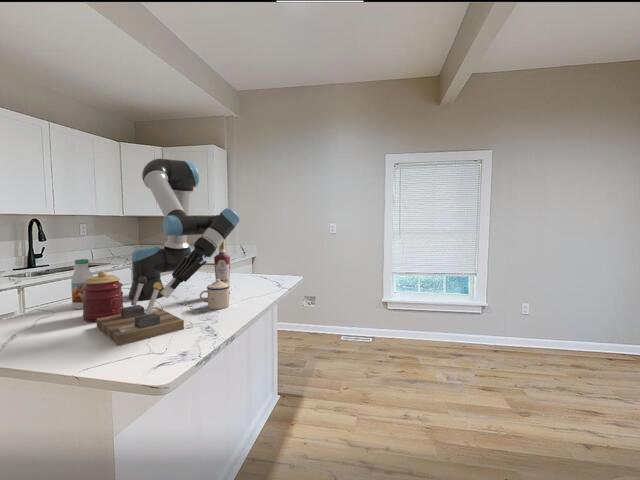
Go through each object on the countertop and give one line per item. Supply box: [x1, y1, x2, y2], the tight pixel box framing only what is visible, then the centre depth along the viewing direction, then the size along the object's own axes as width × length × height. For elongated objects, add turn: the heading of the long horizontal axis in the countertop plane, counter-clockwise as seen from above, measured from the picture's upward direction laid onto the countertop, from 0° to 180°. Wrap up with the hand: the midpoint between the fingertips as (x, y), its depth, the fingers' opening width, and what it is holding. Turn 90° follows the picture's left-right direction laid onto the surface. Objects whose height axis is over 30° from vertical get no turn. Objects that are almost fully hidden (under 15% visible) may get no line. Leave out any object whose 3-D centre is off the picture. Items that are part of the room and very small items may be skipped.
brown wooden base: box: [96, 304, 185, 347], centre depth 113 cm, size 23×20×6 cm
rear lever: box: [130, 276, 147, 306], centre depth 119 cm, size 3×3×11 cm
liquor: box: [213, 239, 231, 295], centre depth 156 cm, size 7×7×28 cm
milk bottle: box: [70, 258, 93, 310], centre depth 137 cm, size 8×8×20 cm
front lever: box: [146, 282, 164, 314], centre depth 109 cm, size 3×3×11 cm
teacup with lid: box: [199, 279, 230, 310], centre depth 139 cm, size 12×9×12 cm
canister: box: [81, 270, 124, 323], centre depth 125 cm, size 13×13×18 cm
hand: (163, 295), depth 111 cm, fingers closed
